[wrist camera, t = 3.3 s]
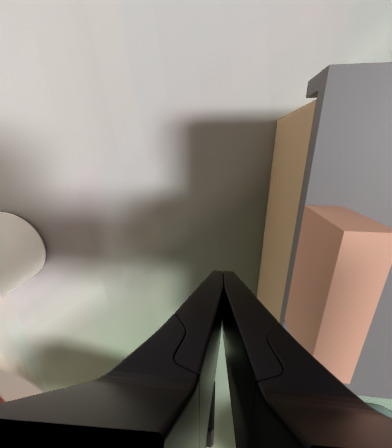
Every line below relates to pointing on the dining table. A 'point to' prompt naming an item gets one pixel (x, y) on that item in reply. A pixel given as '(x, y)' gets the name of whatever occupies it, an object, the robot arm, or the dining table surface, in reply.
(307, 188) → the lid
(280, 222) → the base
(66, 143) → the dining table surface
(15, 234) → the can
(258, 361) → the robot arm
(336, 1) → the dining table surface
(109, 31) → the dining table surface
